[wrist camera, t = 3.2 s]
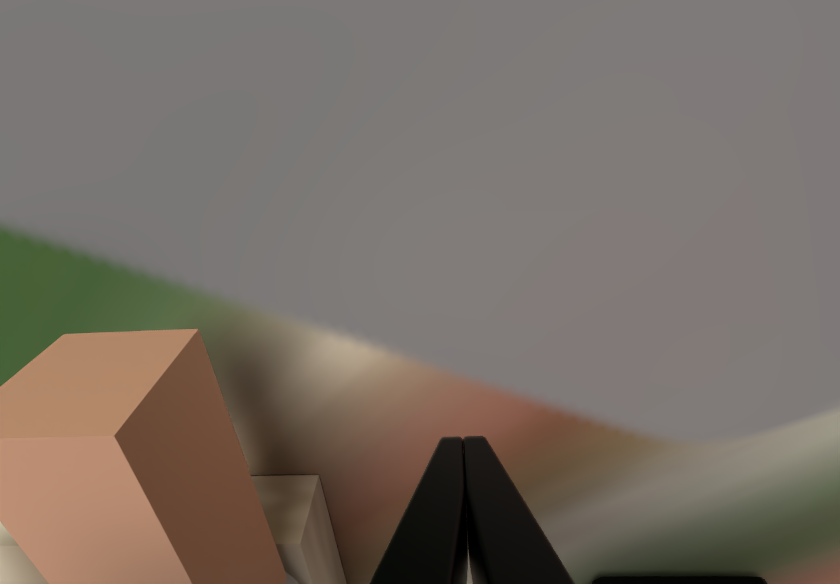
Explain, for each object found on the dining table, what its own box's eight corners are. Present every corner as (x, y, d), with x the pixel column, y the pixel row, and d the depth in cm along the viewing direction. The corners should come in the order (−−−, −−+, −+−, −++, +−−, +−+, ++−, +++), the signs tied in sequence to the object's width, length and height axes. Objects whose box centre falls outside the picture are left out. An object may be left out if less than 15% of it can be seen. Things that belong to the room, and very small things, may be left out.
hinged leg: (313, 623, 16) (286, 750, 13) (209, 621, 16) (160, 746, 13) (214, 325, 10) (129, 440, 7) (53, 332, 10) (-87, 444, 8)
